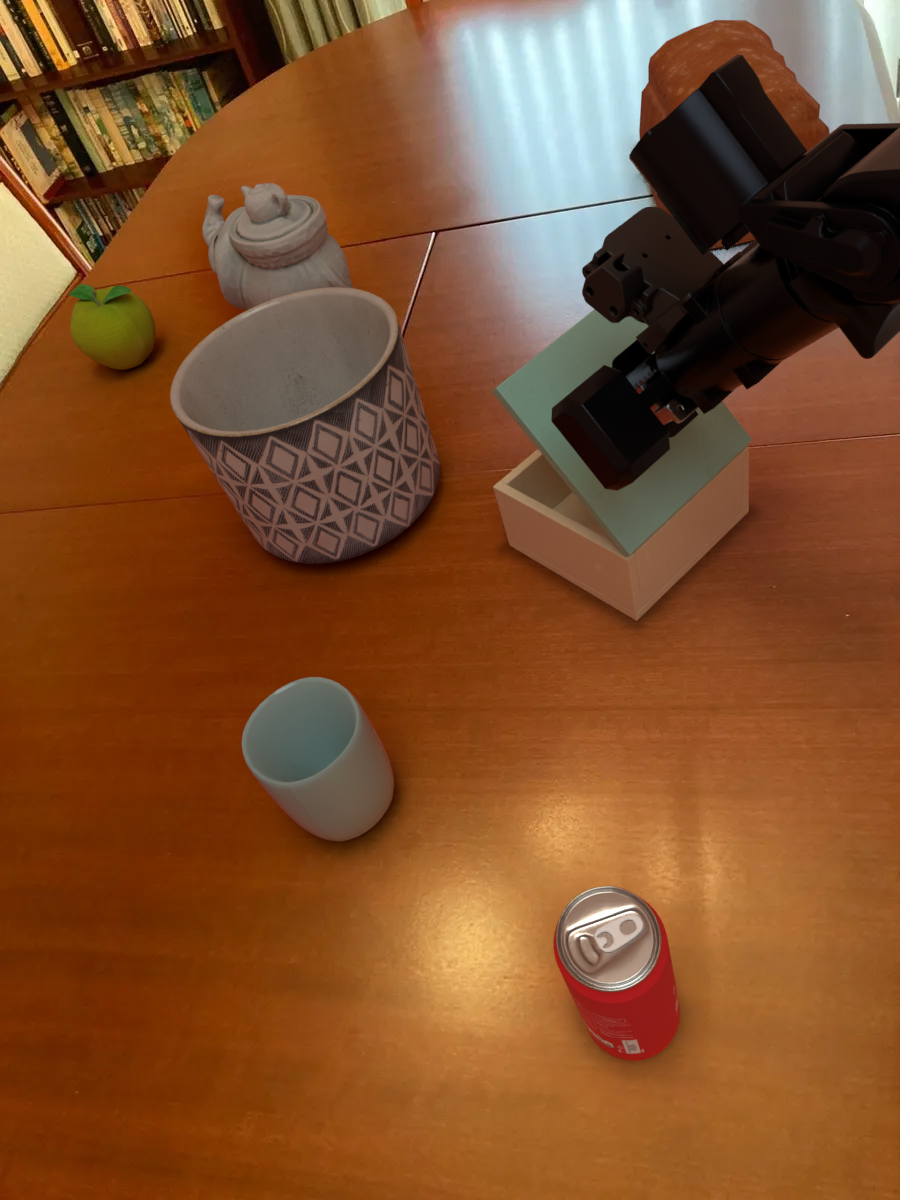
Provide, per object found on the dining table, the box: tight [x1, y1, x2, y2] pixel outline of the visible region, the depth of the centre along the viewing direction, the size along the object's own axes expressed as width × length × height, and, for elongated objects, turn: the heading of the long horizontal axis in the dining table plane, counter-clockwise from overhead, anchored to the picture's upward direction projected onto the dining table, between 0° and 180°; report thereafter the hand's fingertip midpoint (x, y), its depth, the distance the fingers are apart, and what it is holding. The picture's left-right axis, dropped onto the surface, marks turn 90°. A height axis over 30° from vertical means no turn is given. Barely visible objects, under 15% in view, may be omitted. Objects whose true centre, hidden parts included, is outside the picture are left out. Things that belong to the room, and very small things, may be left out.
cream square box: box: [492, 445, 750, 622], centre depth 69 cm, size 14×14×7 cm
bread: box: [638, 19, 831, 250], centre depth 96 cm, size 17×24×15 cm
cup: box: [240, 676, 395, 842], centre depth 58 cm, size 8×8×10 cm
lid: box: [492, 308, 753, 556], centre depth 61 cm, size 14×14×1 cm
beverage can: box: [553, 885, 681, 1062], centre depth 44 cm, size 5×5×12 cm
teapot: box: [201, 182, 354, 311], centre depth 97 cm, size 16×15×19 cm
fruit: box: [67, 283, 157, 371], centre depth 107 cm, size 9×9×10 cm
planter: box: [169, 287, 441, 565], centre depth 76 cm, size 19×19×16 cm
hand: (623, 407), depth 61 cm, fingers closed, pressing on lid
